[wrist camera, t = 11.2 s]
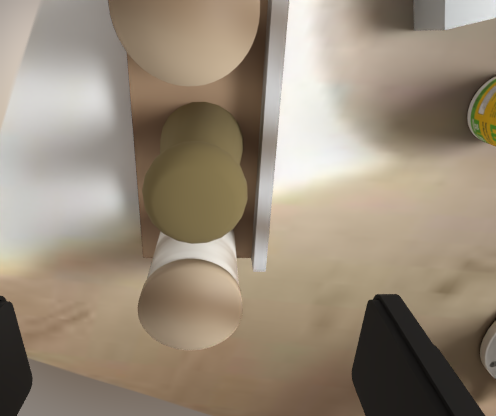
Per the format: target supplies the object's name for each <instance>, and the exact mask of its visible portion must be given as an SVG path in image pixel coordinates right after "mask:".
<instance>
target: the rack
mask: <svg viewBox="0 0 496 416" xmlns="http://www.w3.org/2000/svg"><path fill="white" fill-rule="evenodd" d="M108 3H109V10H110V15H111V19H112V23H113V26H114V29H115V31H116V34H117V36H118V38H119V40H120V42H121V44H122V45H123V47H124V48H125V50H126V51H127V60H128V73H129V85H130V98H131V110H132V123H133V135H134V147H135V160H136V172H137V185H138V197H139V210H140V222H141V234H142V247H143V258H153V259H152V263H151V266H150V270H149V273H148V277H147V280H146V282H145V284H144V286H143V289H142V292H141V295H140V299H139V303H138V316H139V320H140V322H141V324H142V326H143V328H144V329H145V331H146V332H147V333H148V334H149V335H150V336H151V337H152V338H154V339H155V340H156V341H158V342H160V343H161V344H164V345H166V346H169V347H172V348H175V349H181V350H200V349H205V348H209V347H212V346H214V345H217V344H219V343H221V342H222V341H224V340H225V339H227V338H228V337H229V336H230V335H231V334H232V333H233V332H234V331H235V330H236V328H237V327H238V325H239V323H240V321H241V318H242V312H243V308H242V296H241V290H240V287H239V280H238V269H237V258H251V260H252V266H253V271H266V262H267V250H268V239H269V227H270V216H271V204H272V193H273V181H274V170H275V158H276V146H277V135H278V123H279V112H280V100H281V89H282V77H283V66H284V54H285V43H286V31H287V20H288V8H289V0H108ZM191 102H209V103H212V104H216V105H219V106H221V107H222V108H224V109H225V110H227V111H228V112H230V113H231V114H232V116H233V117H234V118H235V119H236V121H237V122H238V123H239V126H240V129H241V131H242V134H243V152H242V157H241V161H240V166H241V169H242V172H243V174H244V177H245V179H246V183H247V198H248V200H247V203H246V206H245V209H244V213H243V215H242V218H241V219H240V220H239V222H238V223H237V224H236V226H235V227H234V229H233V230H231V231H230V232H228V233H227V234H226V235H224V236H223V237H222V238H219V239H216V240H214V241H211V242H208V243H196V244H190V243H185V242H180V241H177V240H175V239H173V238H171V237H169V236H167V235H165V234H163V233H162V232H161V231H160V230H159V229H158V228H157V227H156V226H155V225H154V224H153V223H152V222H151V220H150V218H149V216H148V214H147V212H146V211H145V206H144V200H143V194H142V188H143V183H144V177H145V174H146V173H147V171H148V169H149V168H150V166H151V164H152V162H153V161H154V159H155V158H156V157H157V156H158V155H160V139H161V133H162V128H163V126H164V124H165V122H166V121H167V119H168V117H169V116H170V115H171V114H172V113H173V112H174V111H175V110H177V109H178V108H179V107H181V106H184V105H186V104H189V103H191Z"/></svg>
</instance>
